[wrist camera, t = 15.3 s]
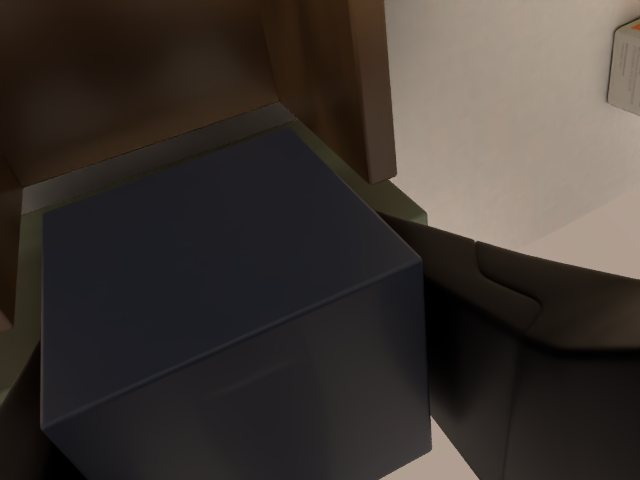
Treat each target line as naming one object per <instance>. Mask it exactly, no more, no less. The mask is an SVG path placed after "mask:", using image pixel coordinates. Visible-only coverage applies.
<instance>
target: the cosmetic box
mask: <svg viewBox="0 0 640 480" xmlns="http://www.w3.org/2000/svg"><path fill="white" fill-rule="evenodd" d="M608 103H609V104H611V105H613V106H615V107H618V108H620V109H623V110H626V111H628V112H631V113H633V114H636V115H638V116H640V19H638V20H636V21H634V22H632V23H629V24H627V25H625V26H623V27H621V28H619V29H618V30H617V31H616V32H615V35H614V47H613V58H612V67H611V76H610V85H609V93H608Z"/></svg>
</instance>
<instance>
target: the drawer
mask: <svg viewBox="0 0 640 480" xmlns="http://www.w3.org/2000/svg"><path fill="white" fill-rule="evenodd" d="M279 101H280V103H282V104H283V105H284V106H285V107H286V108H287V109H288V110H289V111H290V112H291V113H292V114H293V115H295V116H296V117H297V118H298V119H296V120H294V121H291V122H288V123H285V124H282V125H279V126H276V127H273V128H271V129H268V130H265V131H262V132H259V133H256V134H253V135H251V136H248V137H245V138H242V139H239V140H236V141H233V142H230V143H228V144H225V145H222V146H219V147H216V148H213V149H210V150H208V151H205V152H202V153H199V154H196V155H193V156H190V157H187V158H185V159H182V160H179V161H176V162H173V163H170V164H167V165H165V166H162V167H159V168H156V169H153V170H150V171H147V172H144V173H142V174H139V175H136V176H133V177H130V178H127V179H124V180H122V181H119V182H116V183H113V184H110V185H107V186H104V187H101V188H99V189H96V190H93V191H90V192H87V193H84V194H81V195H79V196H76V197H73V198H70V199H67V200H64V201H61V202H58V203H56V204H53V205H50V206H47V207H44V208H41V209H38V210H35V211H33V212H30V213H27V214H24V215H21V210H22V194H23V188H24V187H27V186H30V185H33V184H36V183H39V182H42V181H45V180H48V179H51V178H54V177H57V176H60V175H63V174H66V173H69V172H72V171H75V170H77V169H80V168H83V167H86V166H89V165H92V164H95V163H98V162H101V161H104V160H107V159H110V158H113V157H116V156H119V155H122V154H125V153H128V152H131V151H134V150H137V149H140V148H143V147H146V146H149V145H152V144H155V143H158V142H161V141H164V140H166V139H169V138H172V137H175V136H178V135H181V134H184V133H187V132H190V131H193V130H196V129H199V128H202V127H205V126H208V125H211V124H214V123H217V122H220V121H223V120H226V119H229V118H232V117H235V116H238V115H241V114H244V113H247V112H250V111H253V110H255V109H258V108H261V107H264V106H267V105H270V104H273V103H276V102H279ZM286 127H290V128H291V129H292V130H293V131H294V132H295V133H296V134H297V135H298V136H299V137H300V138H301V139H302V140H303V141H304V142H305V143H306V144H307V145H308V146H309V147H310V148H311V149H312V150H313V151H314V152H315V153H316V154H317V155H318V156H319V157H320V158H321V159H322V160H323V161H324V162H325V163H326V164H327V165H328V166H329V167H330V168H331V169H332V170H333V171H334V172H335V173H336V174H337V175H338V176H339V177H340V178H341V179H342V180H343V181H344V182H345V183H346V184H347V185H348V186H349V187H350V188H351V189H352V190H353V191H354V192H355V193H356V194H357V195H358V196H360V197H361V198H362V199H363V200H364V201H365V202H366V203H367V204H368V205H369V206H370V207H371V208H372V209H374V210H377V211H380V212H384V213H387V214H390V215H394V216H397V217H400V218H404V219H407V220H410V221H413V222H417V223H420V224H423V225H427V226H428V221H427V213H426V212H425V211H424V210H423V209H422V208H421V207H420V206H419V205H417V204H416V203H415V202H414V201H413V200H412V199H410V198H409V197H408V196H407V195H406V194H405V193H403V192H402V191H401V190H400V189H399V188H398V187H396V186H395V185H394V184H393V183H392V182H391V181H389V180H388V179H390V178H393V177H395V176H396V175H397V167H396V154H395V141H394V127H393V114H392V101H391V88H390V75H389V62H388V49H387V36H386V23H385V10H384V0H0V404H1V403H2V401H3V399H4V398H5V396H6V394H7V393H8V391H9V389H10V388H11V386H12V384H13V383H14V381H15V379H16V378H17V376H18V374H19V373H20V371H21V369H22V368H23V366H24V365H25V363H26V361H27V360H28V358H29V356H30V355H31V353H32V351H33V350H34V348H35V346H36V345H37V343H38V341H39V340H40V338H41V287H42V214H43V213H45V212H47V211H50V210H53V209H56V208H59V207H61V206H64V205H67V204H70V203H73V202H76V201H79V200H81V199H84V198H87V197H90V196H93V195H96V194H98V193H101V192H104V191H107V190H110V189H113V188H115V187H118V186H121V185H124V184H127V183H130V182H132V181H135V180H138V179H141V178H144V177H147V176H150V175H152V174H155V173H158V172H161V171H164V170H167V169H169V168H172V167H175V166H178V165H181V164H184V163H186V162H189V161H192V160H195V159H198V158H201V157H204V156H206V155H209V154H212V153H215V152H218V151H221V150H223V149H226V148H229V147H232V146H235V145H238V144H240V143H243V142H246V141H249V140H252V139H255V138H258V137H260V136H263V135H266V134H269V133H272V132H275V131H277V130H280V129H283V128H286Z"/></svg>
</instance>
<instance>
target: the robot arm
mask: <svg viewBox="0 0 640 480" xmlns="http://www.w3.org/2000/svg"><path fill="white" fill-rule="evenodd" d="M373 210H374V209H373ZM374 211H375V212H376V213H377V214H378V215H379V216H380V217H381V218H382V219H383V220H384V221H385V222H386V223H387V224H388V225H389V226H390V227H391V228H392V229H393V230H394V231H395V232H396V233H397V234H398V235H399V236H400V237H401V238H402V239H403V240H404V241H405V242H406V243H407V244H408V245H409V246H410V247H411V248H412V249H413V250H414V251H415V252H416V253H417V254H418V255H419V256H420V257H421V259H422V261H423V279H424V299H425V319H426V339H427V359H428V379H429V399H430V415H431V416H432V417H433V419H434V420H435V421H436V423H437V424H438V425H439V426H440V428H441V429H442V431H443V432H444V433H445V435H446V436H447V437H448V438H449V440H450V441H451V443H452V444H453V445H454V446H455V448H456V449H457V450H458V452H459V453H460V454H461V456H462V457H463V458H464V460H465V461H466V462H467V464H468V465H469V466H470V468H471V469H472V470H473V471H474V473H475V474H476V476H477V477H478V478H479V479H480V480H640V280H639V279H633V278H629V277H624V276H619V275H615V274H610V273H605V272H601V271H596V270H592V269H587V268H582V267H578V266H573V265H569V264H564V263H559V262H555V261H551V260H547V259H542V258H538V257H534V256H530V255H525V254H522V253H518V252H515V251H511V250H507V249H504V248H500V247H497V246H493V245H490V244H487V243H483V242H480V241H476V242H475V241H474V240H473V239H470V238H466V237H463V236H460V235H456V234H453V233H450V232H447V231H443V230H440V229H437V228H433V227H430V226H427V225H423V224H420V223H417V222H413V221H410V220H407V219H404V218H400V217H397V216H394V215H390V214H387V213H384V212H380V211H377V210H374ZM40 393H41V338H40V340H39V341H38V343H37V345H36V346H35V348H34V350H33V351H32V353H31V355H30V356H29V358H28V360H27V361H26V363H25V365H24V366H23V368H22V369H21V371H20V373H19V374H18V376H17V378H16V379H15V381H14V383H13V384H12V386H11V388H10V389H9V391H8V393H7V394H6V396H5V398H4V399H3V401H2V403H1V404H0V480H87V479H86V478H85V477H84V475H83V474H82V473H81V472H80V471H79V470H78V469H77V468H76V467H75V466H74V465H73V464H72V463H71V461H70V460H69V459H68V458H67V457H66V456H65V455H64V454H63V453H62V452H61V451H60V450H59V449H58V447H57V446H56V445H55V444H54V443H53V442H52V441H51V440H50V439H49V438H48V437H47V436H46V435H45V433H44V432H43V431H42V430H41V428H40Z"/></svg>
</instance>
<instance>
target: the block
mask: <svg viewBox="0 0 640 480" xmlns="http://www.w3.org/2000/svg"><path fill="white" fill-rule="evenodd" d="M40 428H41V430H42V431H43V432H44V433H45V435H46V436H47V437H48V438H49V439H50V440H51V441H52V442H53V443H54V444H55V445H56V446H57V447H58V449H59V450H60V451H61V452H62V453H63V454H64V455H65V456H66V457H67V458H68V459H69V460H70V461H71V463H72V464H73V465H74V466H75V467H76V468H77V469H78V470H79V471H80V472H81V473H82V474H83V475H84V477H85V478H86V479H87V480H379V479H381V478H382V477H384V476H386V475H388V474H390V473H392V472H393V471H395V470H397V469H399V468H400V467H402V466H404V465H406V464H408V463H410V462H411V461H414V460H415V459H417V458H419V457H421V456H423V455H425V454H426V453H428V452H430V451H431V450H432V441H431V440H432V438H431V419H430V399H429V379H428V359H427V339H426V319H425V299H424V279H423V261H422V259H421V257H420V256H419V255H418V254H417V253H416V252H415V251H414V250H413V249H412V248H411V247H410V246H409V245H408V244H407V243H406V242H405V241H404V240H403V239H402V238H401V237H400V236H399V235H398V234H397V233H396V232H395V231H394V230H393V229H392V228H391V227H390V226H389V225H388V224H387V223H386V222H385V221H384V220H383V219H382V218H381V217H380V216H379V215H378V214H377V213H376V212H375V211H374V210H373V209H372V208H371V207H370V206H369V205H368V204H367V203H366V202H365V201H364V200H363V199H362V198H361V197H360V196H358V195H357V194H356V193H355V192H354V191H353V190H352V189H351V188H350V187H349V186H348V185H347V184H346V183H345V182H344V181H343V180H342V179H341V178H340V177H339V176H338V175H337V174H336V173H335V172H334V171H333V170H332V169H331V168H330V167H329V166H328V165H327V164H326V163H325V162H324V161H323V160H322V159H321V158H320V157H319V156H318V155H317V154H316V153H315V152H314V151H313V150H312V149H311V148H310V147H309V146H308V145H307V144H306V143H305V142H304V141H303V140H302V139H301V138H300V137H299V136H298V135H297V134H296V133H295V132H294V131H293V130H292V129H291V128H290V127H286V128H283V129H280V130H277V131H275V132H272V133H269V134H266V135H263V136H260V137H258V138H255V139H252V140H249V141H246V142H243V143H240V144H238V145H235V146H232V147H229V148H226V149H223V150H221V151H218V152H215V153H212V154H209V155H206V156H204V157H201V158H198V159H195V160H192V161H189V162H186V163H184V164H181V165H178V166H175V167H172V168H169V169H167V170H164V171H161V172H158V173H155V174H152V175H150V176H147V177H144V178H141V179H138V180H135V181H132V182H130V183H127V184H124V185H121V186H118V187H115V188H113V189H110V190H107V191H104V192H101V193H98V194H96V195H93V196H90V197H87V198H84V199H81V200H79V201H76V202H73V203H70V204H67V205H64V206H61V207H59V208H56V209H53V210H50V211H47V212H45V213H43V214H42V287H41V393H40Z"/></svg>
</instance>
